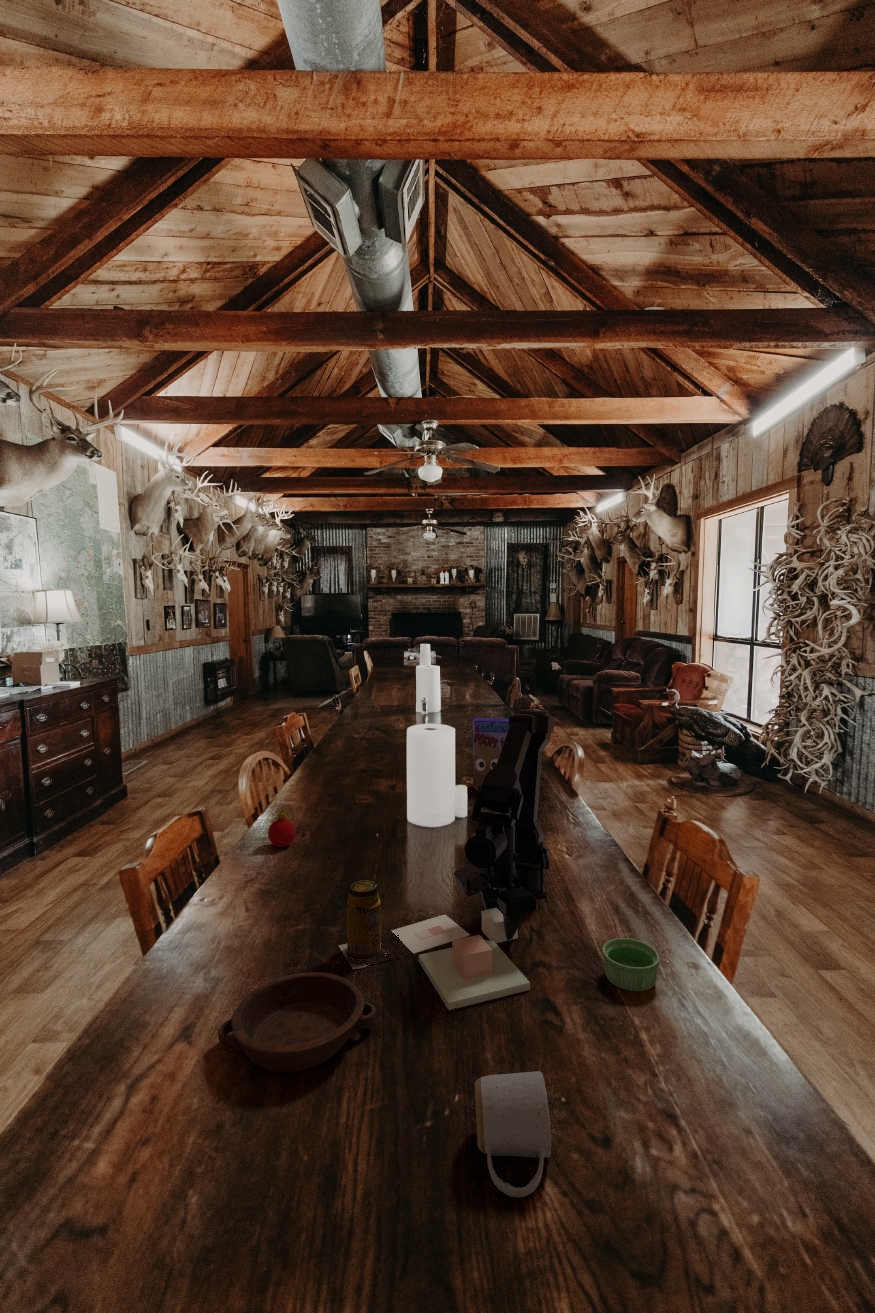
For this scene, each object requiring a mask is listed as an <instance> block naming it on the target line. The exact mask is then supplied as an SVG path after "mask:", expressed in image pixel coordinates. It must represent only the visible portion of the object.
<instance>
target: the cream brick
mask: <svg viewBox="0 0 875 1313" xmlns="http://www.w3.org/2000/svg"><path fill="white" fill-rule="evenodd" d="M518 929H519V928H518ZM518 929H517V931H516V933H515V935H514V937H513V938H512V939H510V940H507V939H506V935H505V928H504V920H503V914H502V913H501V912H500V911H499V910H498V909H497V908H493V909H488V910H485V909H484V910H481V932H482V933H483V934H484V935H485V936H486V937H487V938H488V940H490V939H492V940H493V941H494V942H495V943H496V944H498V943H503V942H508V941H511V940H512V941H513V940H517V939H518V938H519V935H518V934H519V933H518Z"/></svg>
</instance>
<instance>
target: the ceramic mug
mask: <svg viewBox="0 0 875 1313" xmlns="http://www.w3.org/2000/svg"><path fill="white" fill-rule="evenodd" d="M545 1082H546V1081H545V1078H544V1074H543V1073H542V1072H541V1071H540V1070H537V1071H527V1072H516V1073H514V1072H513V1073H503V1074H489V1075H485V1076H481V1077H479V1078H477V1079H476V1081H475V1082H474V1098H475V1099H474V1100H475V1101H474V1102H475V1118H476V1120H475V1121H476V1141H477V1142H476V1143H477V1149H479V1151H480V1152H481V1153H483V1154H486V1156H487V1157H486V1158H487V1159H486V1160H487V1168H488V1171H489V1172H488V1173H489V1174H490V1178H491V1180H492V1182H493V1184H494V1186H495V1187H496V1188H497V1189H498V1190H499V1191H500V1192H502V1193H503V1194H505V1195H506V1196H508V1197H512V1198H525V1197H528V1196H529V1195H531V1194H533V1192H535V1191H536V1189H537V1187H538V1186H539V1184H540V1182H541V1179H542V1176H543V1169H544V1158H546V1159H547V1158H550V1157H551V1154H552V1131H551V1120H550V1119H551V1118H550V1111H549V1103H548V1095H547V1090H546V1084H545ZM492 1156H493V1157H495V1156H496V1157H498V1156H499V1157H522V1158H525V1157H526V1158H538V1159H539V1161H538V1166H537V1170H536V1173H535V1175H534V1176H533V1178H532V1179H531V1180H530V1181H529V1182H528V1184H526V1185H525V1186H522V1187H519V1186H518V1187H516V1186H513V1185H512V1184H510V1182H505V1181H503V1179H502V1178H501V1177H499V1176H498V1175H497V1173H496V1170H495V1169H494V1164H493V1160H492Z"/></svg>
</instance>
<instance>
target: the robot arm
mask: <svg viewBox="0 0 875 1313" xmlns="http://www.w3.org/2000/svg"><path fill="white" fill-rule="evenodd" d="M508 719H509V729H508V732H507V735H506V738H505V740H504V743H503V746H502V749H501V752H500V755H499V758H498V761H497V764H496V766H495V767H494V768H493V769H491V770H490V771H489V772H487V773H486V775H485V777H484V779H483V781H482V783H481V785H479V787H478V790H476V791H477V792H476V794H475V795H476V796H475V801H474V805H473V809H472V813H471V819H470V821H471V822H477V823H478V824H479V825H478V826H476V827H475V830H474V832H475V833H473V835H471V836H470V837H469V838H468V839H467V841H466V843H465V846H464V853H465V854H464V855H465V857H466V859H467V860H468V862H467V863H466V865H464V866H461V867H460V868H458V869H456V870H455V871H454V873H453V876H454V878H455V881H456V884H457V886H458V889H459V891H461V892H462V893H463V894H464V895H465V897H467V898H468V897H469V898H470V897H472V896H474V895H478V894H480V897H481V900H482V904H483V907H484V910H488V909H493V908H497V909H498V910H499V911H500V912H501V913H502V914H503V920H504V928H505V935H506V939H507V940H508V941H511V940H510V939H512V938H513V937H514V935H515V933H516V931H517V929H519V927H520V924H521V923H522V921H523V920H524V918H525V916H526V915H527V914H528V913H534V912H537V911H538V907H539V898H544V897H548V893H547V892H546V891H545V890H544V872H545V870H549V869H550V867H551V865H550V863H551V858H550V852H549V850H548V847H547V844H546V842H545V833H544V830H543V829H542V827H541V825H540V823H539V821H538V817H539V816H538V815H539V814H538V813H539V802H540V787H541V786H540V785H541V772H542V761H543V760H542V759H543V751H544V750H545V748H547V745H549V743H550V741H551V737H552V733H553V732H554V729H555V718H554V715H553V716H552V715H550V712H549V710H542V709H541V710H539V709H523V708H521V709H519V711H518V713H510V716H509V718H508ZM518 778H519V780H518ZM482 810H483V811H482ZM485 811H487V812H485Z"/></svg>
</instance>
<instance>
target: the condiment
mask: <svg viewBox="0 0 875 1313" xmlns="http://www.w3.org/2000/svg"><path fill="white" fill-rule="evenodd" d="M381 902H382V901H381V899H380V896H379V885H378V883H376V882H375V881H372V880H366V879H365V880H358V881H355V882H352V884H351V885H349V887H348V900H347V902H346V938H347V939H346V940H347V942H346V943H344V944H339V945H338V948H339V949H340V951H341V952H342V954H343V956H344V957H345V959H346V960H347V962H348V965H350V967H351V969H352V970H356V969H357V970H358V969H364V968H367V966H368V965H369V964H368V965H366V964H362V963H364V962H363V961H364V960H362V961H360V963H358V962H359V960H356V961H358V962H356V961H354V960H352V958H354V959H368V958H371V957H373V956H375V955H377V954H378V953H379V952H380V950H381V944H382V905H381ZM385 954H387V953H385ZM385 956H386V955H385ZM350 957H352V958H350ZM361 965H363V966H361ZM368 967H369V966H368Z"/></svg>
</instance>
